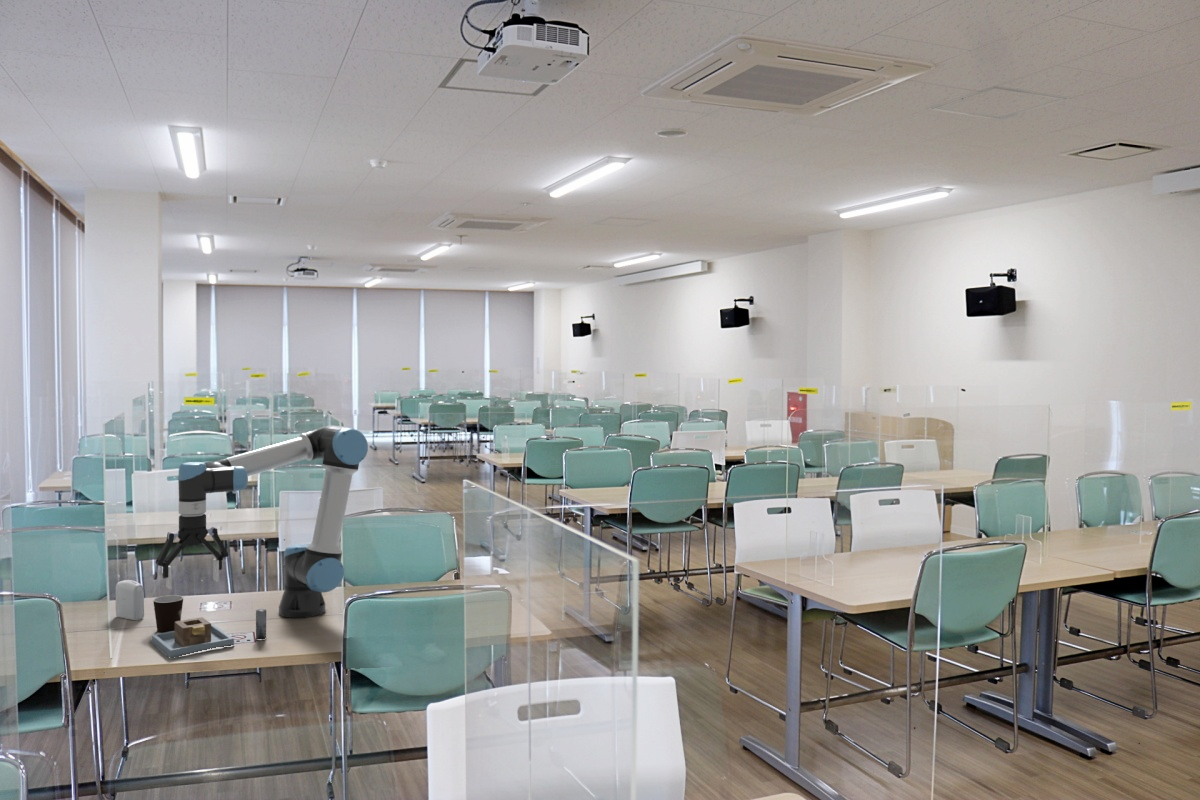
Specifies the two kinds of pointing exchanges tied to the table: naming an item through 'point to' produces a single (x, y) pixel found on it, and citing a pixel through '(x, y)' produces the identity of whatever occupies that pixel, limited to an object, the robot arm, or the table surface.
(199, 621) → the collar
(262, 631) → the post
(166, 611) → the coffee mug
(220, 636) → the tray
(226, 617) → the table surface
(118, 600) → the photo printer
